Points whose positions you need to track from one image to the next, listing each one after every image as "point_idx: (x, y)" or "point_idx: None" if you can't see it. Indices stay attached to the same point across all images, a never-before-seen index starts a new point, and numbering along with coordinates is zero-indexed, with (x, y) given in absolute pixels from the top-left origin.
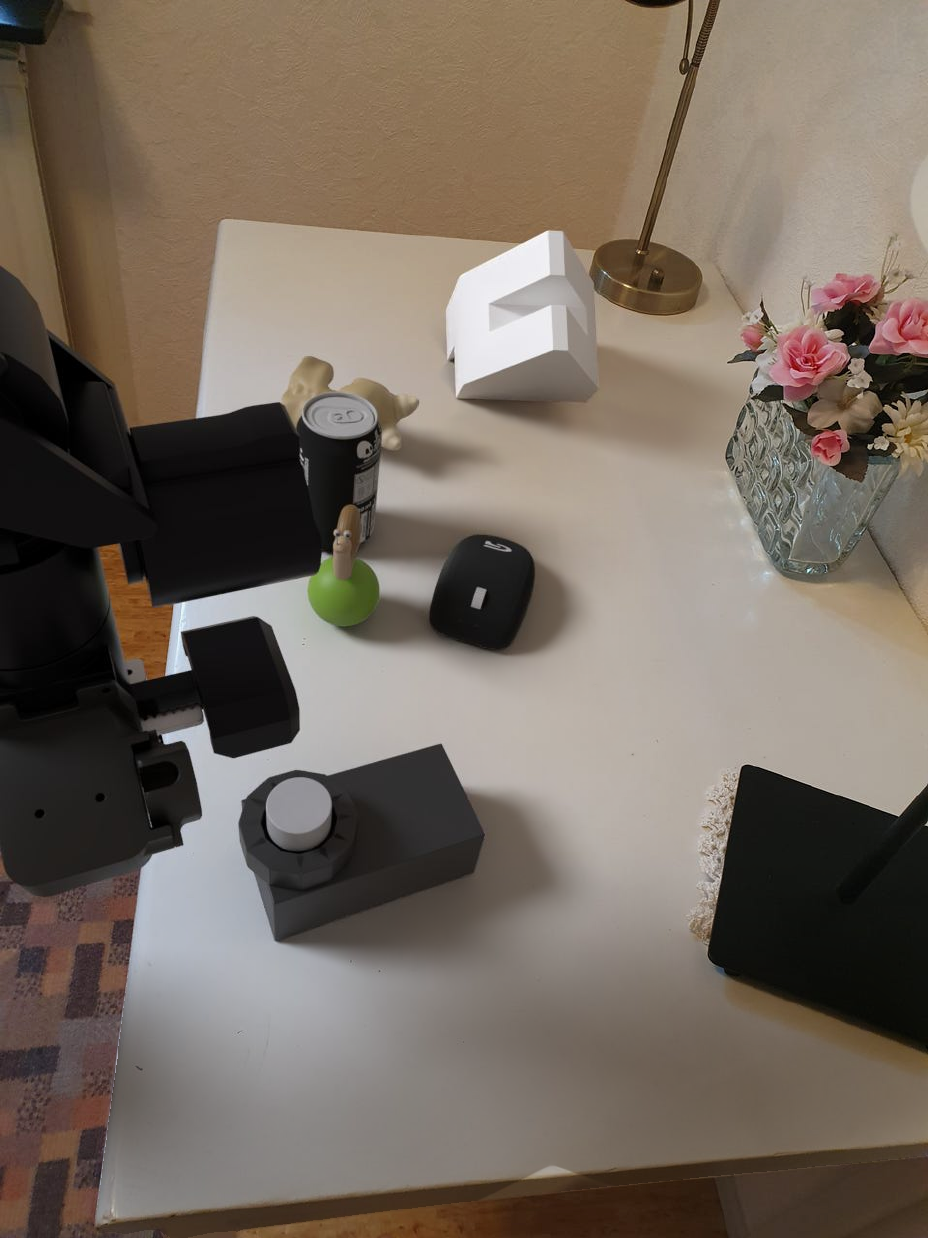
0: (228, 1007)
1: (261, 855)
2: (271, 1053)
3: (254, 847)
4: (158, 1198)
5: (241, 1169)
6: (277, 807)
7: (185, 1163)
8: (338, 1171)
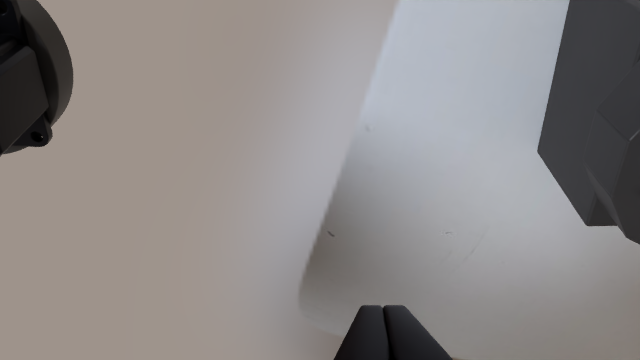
0: (445, 206)
1: (630, 215)
2: (472, 261)
3: (628, 197)
4: (327, 329)
5: None
6: None
7: None
8: (486, 355)
